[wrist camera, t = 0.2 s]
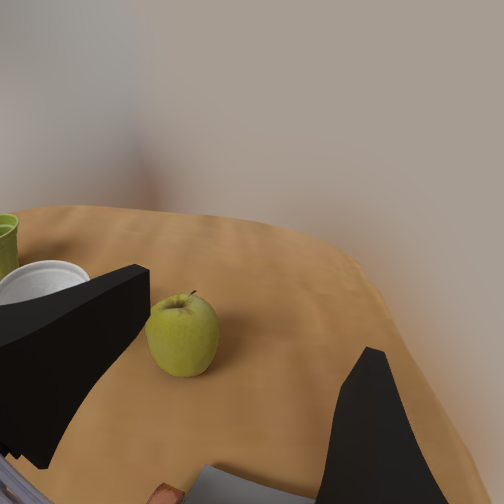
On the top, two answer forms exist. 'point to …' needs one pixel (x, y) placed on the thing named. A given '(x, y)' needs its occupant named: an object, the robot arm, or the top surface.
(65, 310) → the robot arm
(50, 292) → the ramekin
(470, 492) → the top surface
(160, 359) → the apple
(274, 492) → the housing
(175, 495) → the shaft
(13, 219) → the plant pot
